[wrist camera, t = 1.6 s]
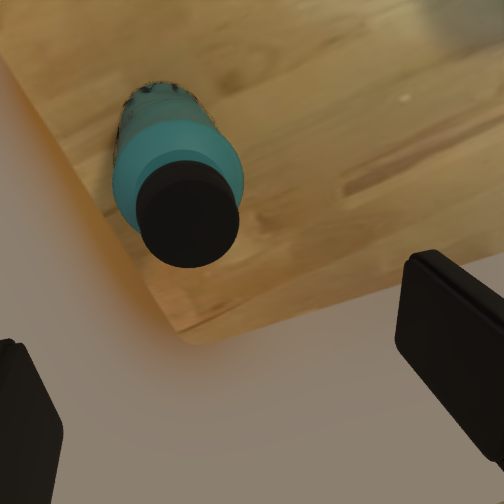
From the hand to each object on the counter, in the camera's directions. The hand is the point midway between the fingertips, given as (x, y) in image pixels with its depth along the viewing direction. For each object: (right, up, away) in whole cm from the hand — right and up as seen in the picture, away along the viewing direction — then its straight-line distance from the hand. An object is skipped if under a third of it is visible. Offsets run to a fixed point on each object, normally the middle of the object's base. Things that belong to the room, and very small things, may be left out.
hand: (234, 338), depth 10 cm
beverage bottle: (-7, +13, +22) cm, 27 cm away
